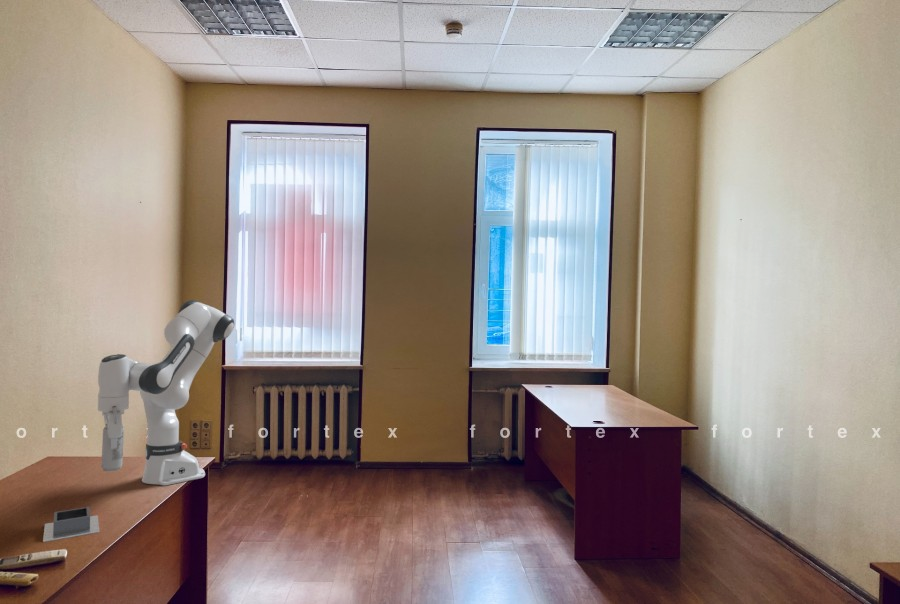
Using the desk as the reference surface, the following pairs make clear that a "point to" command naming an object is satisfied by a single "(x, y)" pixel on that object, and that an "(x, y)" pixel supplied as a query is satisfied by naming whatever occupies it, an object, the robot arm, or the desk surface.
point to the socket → (71, 524)
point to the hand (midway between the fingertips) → (112, 445)
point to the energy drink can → (112, 452)
